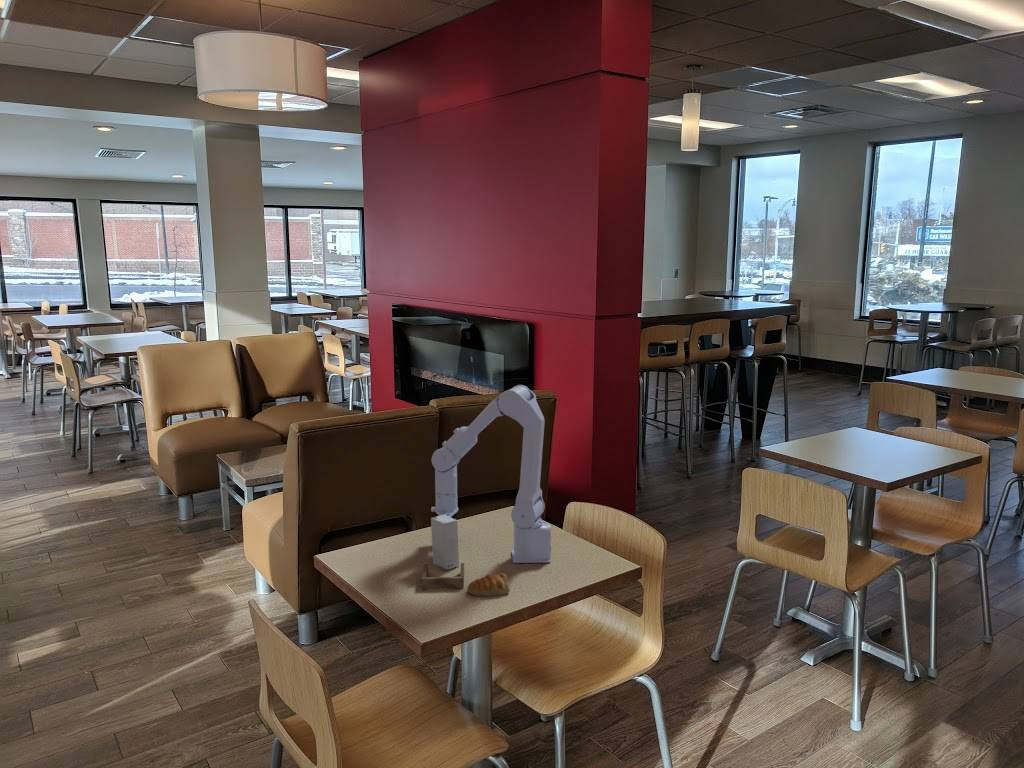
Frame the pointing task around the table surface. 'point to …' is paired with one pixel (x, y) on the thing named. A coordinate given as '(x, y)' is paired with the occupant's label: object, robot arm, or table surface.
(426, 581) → the bottle holder
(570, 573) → the table surface
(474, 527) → the table surface
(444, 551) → the skincare box
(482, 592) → the pastry
